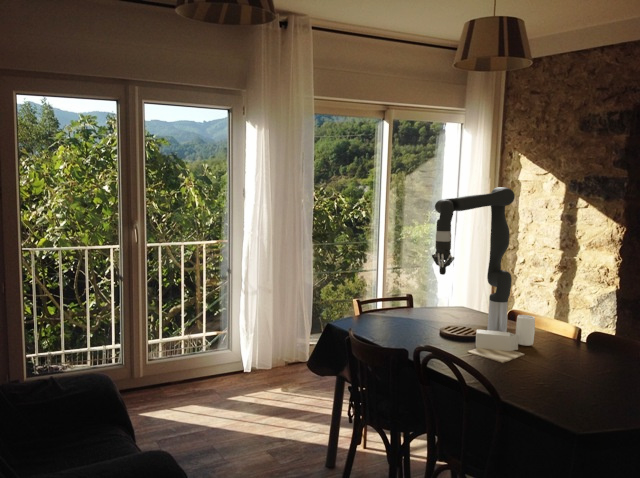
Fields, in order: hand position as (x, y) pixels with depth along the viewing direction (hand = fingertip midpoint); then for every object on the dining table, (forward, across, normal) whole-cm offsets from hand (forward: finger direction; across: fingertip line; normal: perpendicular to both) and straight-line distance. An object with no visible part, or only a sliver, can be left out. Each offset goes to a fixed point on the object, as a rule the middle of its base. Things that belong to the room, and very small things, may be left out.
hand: (442, 274), depth 281 cm
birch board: (+32, -34, +3) cm, 47 cm away
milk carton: (+27, -22, +2) cm, 35 cm away
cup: (+32, -34, -20) cm, 51 cm away
